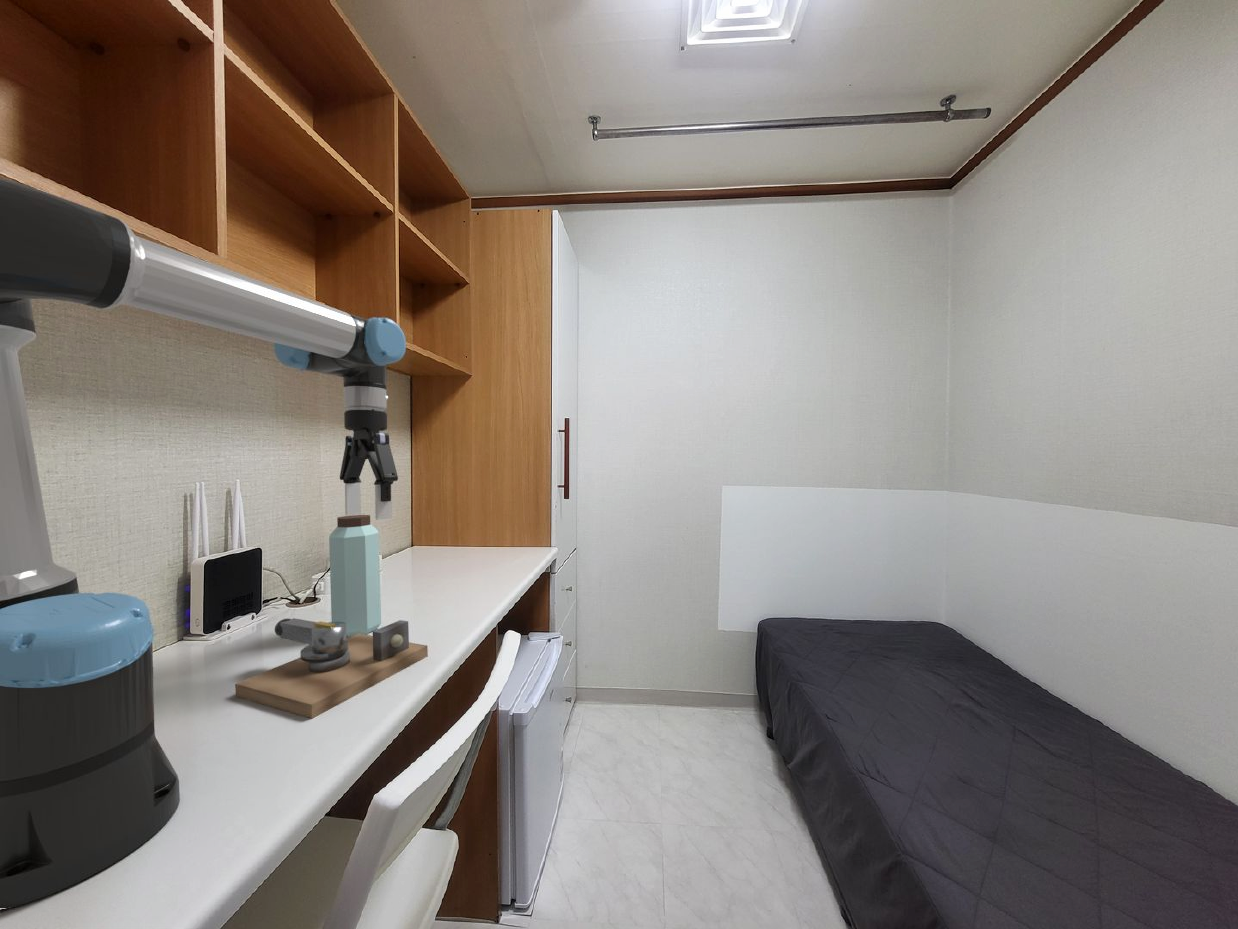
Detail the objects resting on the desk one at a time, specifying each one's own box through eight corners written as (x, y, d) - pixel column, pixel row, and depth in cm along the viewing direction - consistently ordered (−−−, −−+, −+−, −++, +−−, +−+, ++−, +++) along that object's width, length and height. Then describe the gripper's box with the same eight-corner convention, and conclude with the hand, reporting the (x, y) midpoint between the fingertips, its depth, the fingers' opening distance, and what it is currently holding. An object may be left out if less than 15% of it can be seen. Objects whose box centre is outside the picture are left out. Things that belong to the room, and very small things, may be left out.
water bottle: (342, 643, 94) (338, 521, 93) (322, 632, 100) (319, 517, 99) (391, 628, 102) (388, 515, 101) (370, 619, 108) (367, 512, 107)
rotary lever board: (312, 718, 66) (310, 670, 66) (235, 696, 73) (233, 652, 73) (427, 656, 87) (426, 619, 87) (359, 643, 93) (358, 609, 93)
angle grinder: (358, 648, 82) (357, 619, 81) (319, 665, 75) (318, 633, 75) (299, 637, 87) (298, 609, 87) (259, 651, 81) (258, 622, 81)
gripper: (416, 406, 87) (418, 518, 87) (358, 416, 102) (360, 511, 102) (375, 403, 81) (377, 523, 81) (320, 413, 96) (322, 514, 97)
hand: (367, 516), depth 92 cm, fingers open, 13 cm apart
